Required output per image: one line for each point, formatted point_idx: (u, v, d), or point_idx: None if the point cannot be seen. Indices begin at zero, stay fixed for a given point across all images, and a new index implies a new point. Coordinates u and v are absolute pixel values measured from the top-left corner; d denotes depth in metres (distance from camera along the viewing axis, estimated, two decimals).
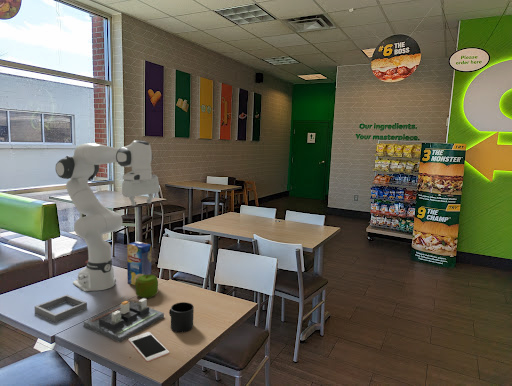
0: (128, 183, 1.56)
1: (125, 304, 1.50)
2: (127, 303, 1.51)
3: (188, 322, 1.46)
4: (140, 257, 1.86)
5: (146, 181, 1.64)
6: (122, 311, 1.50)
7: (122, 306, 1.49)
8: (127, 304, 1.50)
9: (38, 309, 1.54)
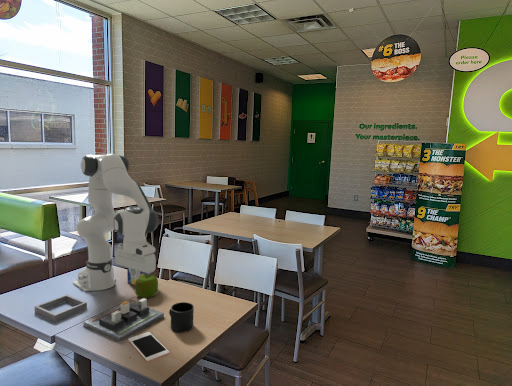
0: (154, 256, 1.42)
1: (125, 304, 1.50)
2: (127, 303, 1.51)
3: (188, 322, 1.46)
4: None
5: None
6: (122, 311, 1.50)
7: (122, 306, 1.49)
8: (127, 304, 1.50)
9: (38, 309, 1.54)
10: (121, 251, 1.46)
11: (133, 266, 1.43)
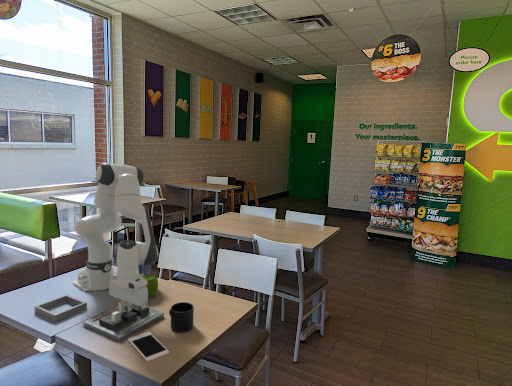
0: (146, 290, 1.46)
1: None
2: None
3: (188, 322, 1.46)
4: None
5: None
6: (120, 310, 1.50)
7: (120, 305, 1.50)
8: None
9: (38, 309, 1.54)
10: (114, 283, 1.50)
11: (126, 299, 1.47)
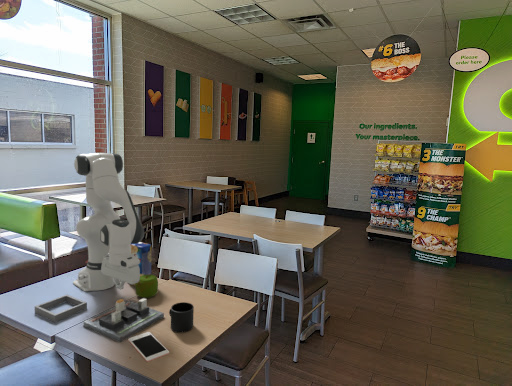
0: (138, 268, 1.47)
1: (120, 302, 1.51)
2: (122, 301, 1.52)
3: (188, 322, 1.46)
4: (140, 257, 1.86)
5: None
6: (117, 309, 1.51)
7: (117, 304, 1.51)
8: (122, 302, 1.52)
9: (38, 309, 1.54)
10: (107, 262, 1.51)
11: (118, 277, 1.49)
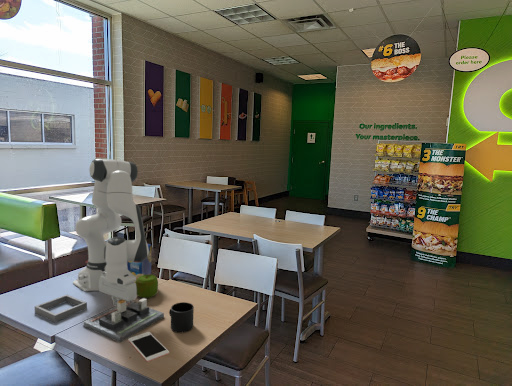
0: (134, 285, 1.49)
1: (122, 303, 1.51)
2: (124, 302, 1.52)
3: (188, 322, 1.46)
4: None
5: None
6: (119, 310, 1.51)
7: (119, 305, 1.50)
8: (123, 303, 1.51)
9: (38, 309, 1.54)
10: (104, 279, 1.53)
11: (115, 294, 1.50)
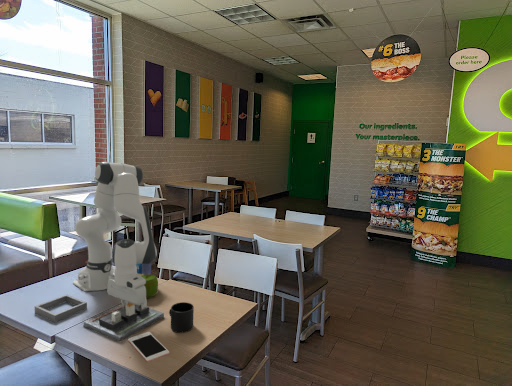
0: (144, 288, 1.46)
1: (130, 306, 1.48)
2: (132, 305, 1.49)
3: (188, 322, 1.46)
4: None
5: None
6: (127, 313, 1.48)
7: (127, 308, 1.48)
8: (132, 306, 1.49)
9: (38, 309, 1.54)
10: (113, 282, 1.50)
11: (124, 297, 1.48)
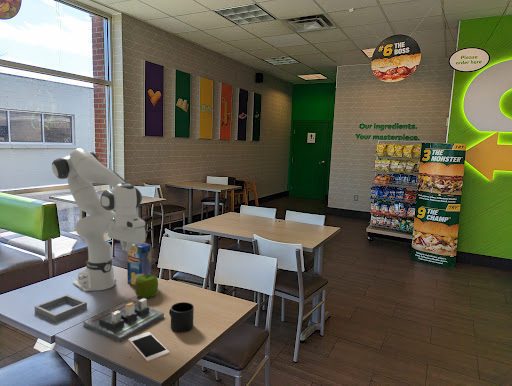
0: (144, 229, 1.51)
1: (130, 306, 1.48)
2: (132, 305, 1.49)
3: (188, 322, 1.46)
4: (140, 257, 1.86)
5: None
6: (127, 313, 1.48)
7: (127, 308, 1.48)
8: (132, 306, 1.49)
9: (38, 309, 1.54)
10: (113, 225, 1.56)
11: (124, 238, 1.53)
